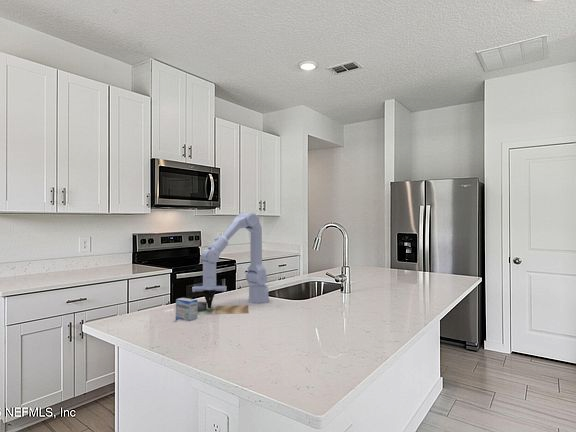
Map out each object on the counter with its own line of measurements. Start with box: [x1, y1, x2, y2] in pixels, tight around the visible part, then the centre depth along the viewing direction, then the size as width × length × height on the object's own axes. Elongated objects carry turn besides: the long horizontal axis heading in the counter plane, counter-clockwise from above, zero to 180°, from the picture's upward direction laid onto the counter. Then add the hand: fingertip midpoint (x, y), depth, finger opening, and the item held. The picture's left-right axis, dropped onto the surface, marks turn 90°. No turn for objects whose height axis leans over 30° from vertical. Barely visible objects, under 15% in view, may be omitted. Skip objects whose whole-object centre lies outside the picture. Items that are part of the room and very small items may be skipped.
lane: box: [197, 304, 249, 316], centre depth 165 cm, size 28×14×1 cm, turn 97°
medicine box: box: [175, 297, 199, 322], centre depth 152 cm, size 8×4×9 cm, turn 62°
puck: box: [197, 301, 207, 312], centre depth 165 cm, size 6×6×3 cm
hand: (209, 307), depth 165 cm, fingers closed
